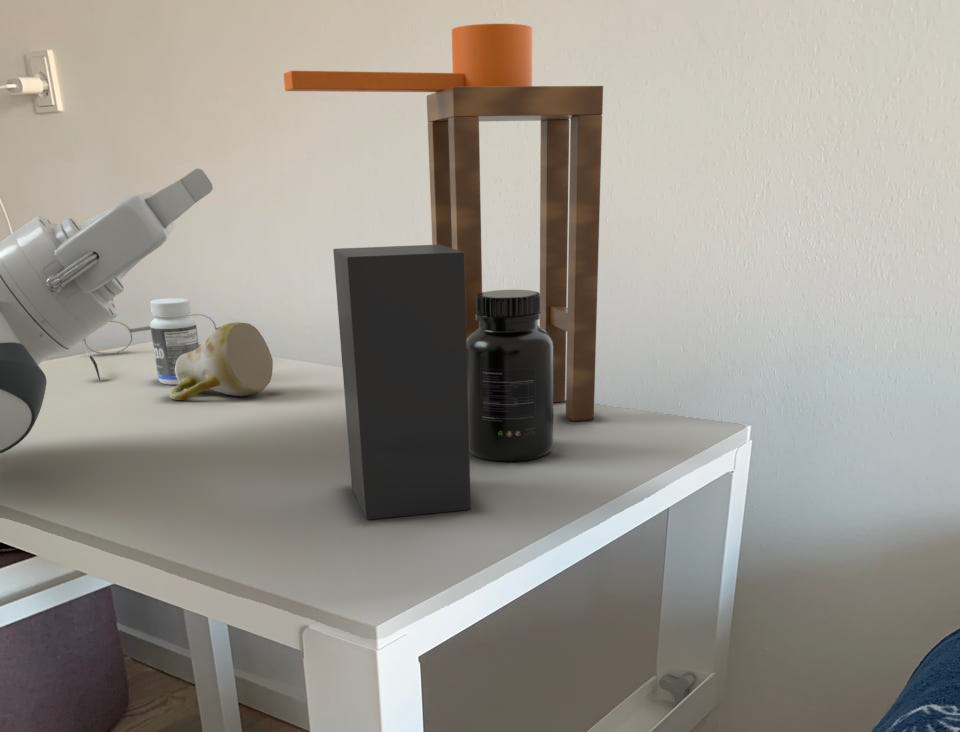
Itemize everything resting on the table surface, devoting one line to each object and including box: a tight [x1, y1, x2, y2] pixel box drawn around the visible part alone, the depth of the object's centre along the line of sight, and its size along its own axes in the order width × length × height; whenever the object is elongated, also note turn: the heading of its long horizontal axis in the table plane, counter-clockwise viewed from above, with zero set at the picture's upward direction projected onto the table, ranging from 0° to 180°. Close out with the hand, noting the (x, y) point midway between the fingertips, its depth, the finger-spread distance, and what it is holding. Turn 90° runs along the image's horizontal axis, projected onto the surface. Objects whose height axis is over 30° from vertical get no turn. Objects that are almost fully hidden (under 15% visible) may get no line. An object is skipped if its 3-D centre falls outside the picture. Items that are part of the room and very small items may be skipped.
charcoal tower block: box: [333, 244, 472, 521], centre depth 65 cm, size 7×7×16 cm
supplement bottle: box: [466, 289, 554, 462], centre depth 77 cm, size 7×7×12 cm
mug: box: [169, 321, 274, 401], centre depth 101 cm, size 8×10×10 cm
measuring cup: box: [283, 23, 533, 93], centre depth 78 cm, size 20×6×4 cm, turn 115°
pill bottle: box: [149, 297, 200, 386], centre depth 107 cm, size 5×5×8 cm
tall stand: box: [426, 85, 604, 422], centre depth 86 cm, size 12×10×26 cm
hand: (207, 177), depth 78 cm, fingers open, 8 cm apart
